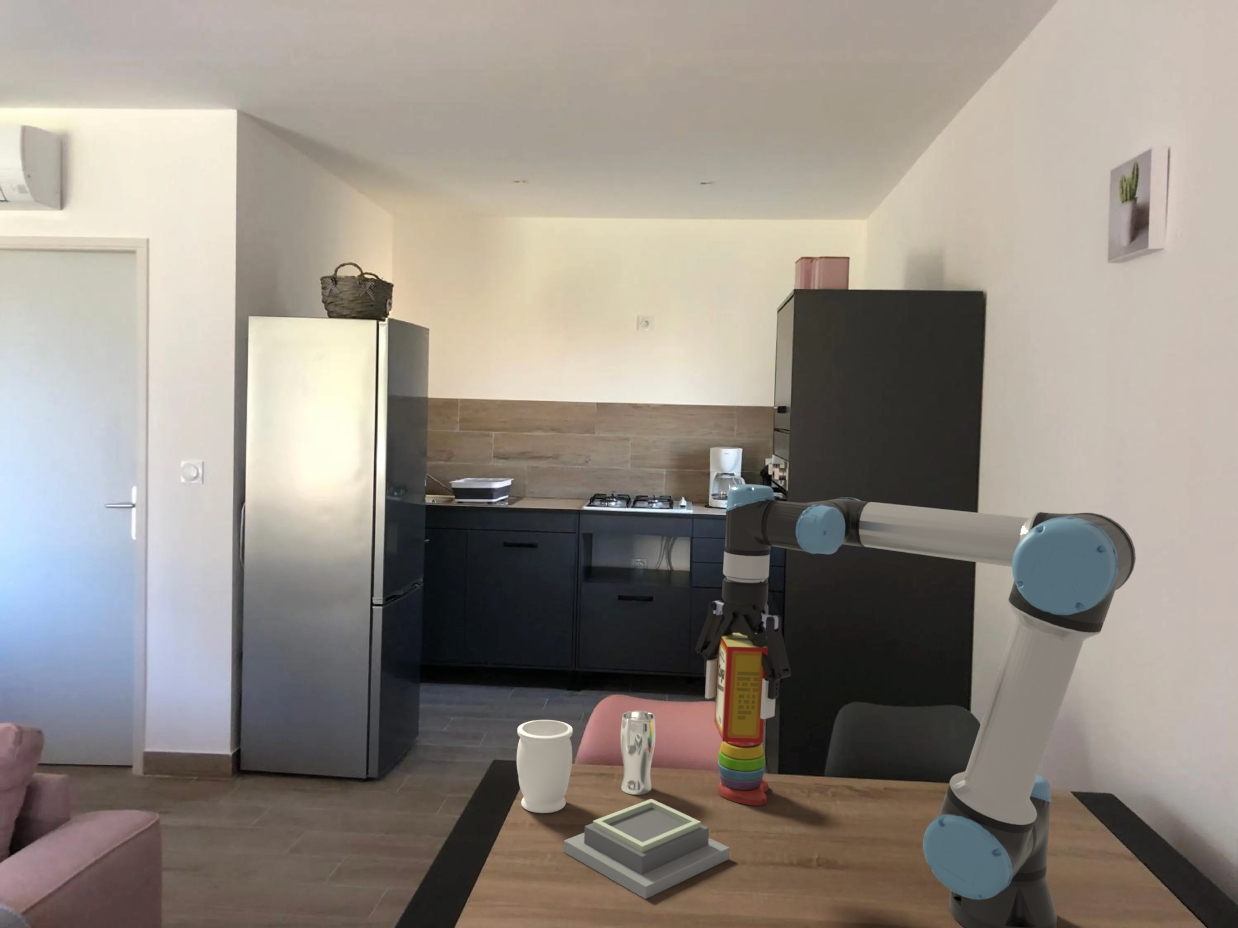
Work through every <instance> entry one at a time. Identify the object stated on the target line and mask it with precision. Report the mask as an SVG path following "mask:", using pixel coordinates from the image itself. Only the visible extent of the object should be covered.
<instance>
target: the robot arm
mask: <svg viewBox="0 0 1238 928" xmlns="http://www.w3.org/2000/svg"><path fill="white" fill-rule="evenodd" d="M724 541H725V542H724V543H725V544H724V549H723V550H724V551H723V567H722V568H723V569H722V574H723V575H724V576H725V577H723V579H722V585H721V586H722V590H721V598H722V600H723V601H722V600H721V599H720V600H714V601H710V602H708V605H707V616H706V619H705V621H704V624H703V627H702V630H701V632H700V635H699V637H698V640H697V642H696V645H695V649H694V650H695V652H696V653H697V654H700V655H701V656H702V657H703V658H702V659H704V661H703V662H704V663H703V675H704V676H703V677H705V689H704V690H705V692H704V693H705V694H704V698H705V699H707V700H710V699H713V698H716V681H717V661H718V649H719V645H720V641H721V636H722V637H723V636H725V635H731V634H733V633H740V634H742V635H744V636H747V637H748V639H749V641H751V642H752V644H753V645H754V646H757V647H760V648H761V647H764V646H767V648H768V656H766V655H765V654H764V653H763V652H762V659H761V665H762V667H763V669H764V672H765V674H766V678H763V679H762V695H761V713H760V718H761V719H764V720H767V719H770V718H773V717H775V710H776V699H778V698H779V696H780V683H781V679H784V678H788V677H791V676H792V670H791V666H790V662H789V659H788V658H789V657H788V654H787V649H786V645H785V641H784V636H783V633H782V616H781V615H779V614H776V615H770V614H767V611H766V607H765V606H766V605H767V602H768V600H769V599H768V595H769V582H768V580H767V578H769V576H770V558H771V548H772V547H773V548H774V547H775V548H782V549H788V550H794V551H798V552H799V551H801V552H806V553H809V554H811V555H817V554H822V555H832V554H834V553H836V552H837V551H838V549H839V548H840V547H841V546H842V545H845V546H846V545H847V546H854V547H855V546H856V547H862V548H863V547H864V548H874V549H879V550H886V551H887V550H888V551H892V552H893V551H895V552H903V553H908V554H916V555H923V556H930V557H937V558H946V559H951V560H952V559H953V560H960V561H965V562H966V561H967V562H973V563H974V562H975V563H980V564H988V565H994V566H1002V567H1010V568H1011V571H1012V578H1013V580H1014V581H1013V584H1012V587H1011V589H1010V590H1011V591H1010V594H1009V597H1008V600H1007V603H1008V606H1009V607H1010V609H1011V610H1012V612H1013V614H1014V616H1015V618H1014V622H1013V624H1012V627H1011V630H1010V634H1009V636H1008V640H1007V643H1006V645H1005V649H1004V652H1003V655H1002V658H1001V662H1000V665H999V666H998V667H999V668H998V670H997V674H996V677H995V679H994V683H993V685H992V689H991V693H990V695H989V698H988V702H987V705H986V707H985V710H984V713H983V717H982V719H981V723H980V726H979V729H978V732H977V735H976V738H975V742H974V745H973V748H972V750H971V753H970V757H969V760H968V763H967V766H966V769H965V771H961V772H958V773H956V774H954V775H953V776H951V778H950V780H949V783H948V785H947V790H946V792H945V795H944V799H943V801H942V804H941V808H940V811H939V813H938V815H937V816H935V817H934V818H933V819H932V820H931V821H930V822H929V824H928V825H927V827H926V830H925V832H924V835H923V840H922V850H923V855H924V858H925V861H926V863H927V864H928V866H929V867H930V869H931V872H932V874H933V875H934V876H935V878H936V879H937V880H938V881H939V882H940V883H941V884H942V885H943V886H945V887H946V888H947V889H948V890H950V892H949V902H948V903H949V905H948V907H949V909H948V910H949V912H950V914H951V917H953V918H954V920H956V921H957V922H958V924H960V925H961V926H962V927H964V928H1057V924H1058V923H1057V920H1058V919H1057V917H1058V915H1057V911H1056V907H1055V903H1054V900H1053V896H1052V893H1051V889H1050V886H1049V883H1048V879H1047V866H1048V865H1047V864H1048V851H1049V836H1050V835H1049V834H1050V817H1051V816H1050V814H1051V804H1052V802H1053V799H1052V798H1051V797H1052V796H1051V794H1052V791H1051V785H1050V783H1049V781H1048V780H1047V779H1046V778H1045V776H1042V775H1041V774H1039V772H1040V769H1041V766H1042V763H1043V761H1044V757H1045V754H1046V752H1047V748H1048V746H1049V743H1050V740H1051V736H1052V734H1053V732H1054V728H1055V725H1056V722H1057V719H1058V717H1059V713H1060V711H1061V708H1062V705H1063V702H1064V699H1065V696H1066V693H1067V690H1068V688H1069V684H1070V681H1071V678H1072V676H1073V672H1074V670H1075V667H1076V664H1077V661H1078V658H1079V655H1080V653H1081V649H1082V647H1083V643H1084V641H1086V639H1089V638H1091V637H1094V636H1097V635H1100V634H1101V632H1102V629H1103V626H1104V623H1105V621H1106V618H1107V614H1108V613H1109V609H1110V606H1111V603H1112V601H1113V598H1114V596H1115V592H1116V591H1117V590H1119V589H1121V588H1122V587H1123V586H1124V585H1125V584H1126V582H1128V580H1129V579H1130V577H1131V576H1132V573H1133V572H1134V570H1135V569H1134V568H1135V565H1136V560H1137V559H1136V549H1135V546H1134V542H1133V540H1132V537H1131V536H1130V535H1129V533H1128V531H1127V530H1126V529H1125V528H1124V527H1123V526H1122V525H1121V524H1119V522H1117V521H1116V520H1114V519H1112V518H1110V517H1109V516H1105V515H1103V514H1099V513H1094V512H1079V513H1078V512H1076V513H1075V512H1074V513H1057V512H1056V513H1055V512H1043V511H1037V512H1035V513H1034V514H1033V515H1031V516H1030V517H1025V516H1024V517H1022V516H1014V515H1013V516H1012V515H1004V514H996V513H995V514H993V513H984V512H983V513H982V512H974V511H973V512H972V511H964V510H963V511H962V510H954V509H944V508H943V509H942V508H936V507H935V508H934V507H926V506H925V507H924V506H914V505H905V504H904V505H903V504H894V503H884V502H876V501H875V502H873V501H870V502H869V501H865V500H863V501H862V500H860V499H858V498H855V497H843V496H842V497H838V498H834V499H827V500H819V501H818V500H817V501H809V502H796V501H794V502H793V501H783V500H778V499H775V496H774V489H773V488H772V487H771V486H769V485H764V484H763V485H762V484H752V483H751V484H749V483H744V484H743V483H741V484H740V483H738V484H734V485H731V486H730V487H729V489H728V491H727V500H726V509H725V540H724ZM722 617H724V620H723V621H722V623H721V620H722ZM720 623H721V624H720ZM718 628H719V629H718ZM755 633H757V634H755Z"/></svg>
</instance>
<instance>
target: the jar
mask: <svg viewBox="0 0 1238 928" xmlns="http://www.w3.org/2000/svg"><path fill="white" fill-rule="evenodd" d="M572 735H573V726H571V725H570V724H568V723H567V722H563V721H561V720H560V721H559V720H554V719H553V720H552V719H537V720H536V719H533V720H530V721H526V722H523V723H521V724H520V725H518V726H517V736H518V737H519V741H518V744H517V750H516V770H517V775H518V784H519V788H520V792H521V793H522V795H523V797H522V799H521V802H520V804H521V806H522V808H523V809H525V810H526V811H529V812H532V813H537V814H538V813H539V814H548V813H549V814H550V813H555V812H558V811H561V810H562V809H563V808H564V807H565V806H566V803H567V801H566V799H565V797H564V796H565V795H566V792H567V790H568V787H569V783H570V776H571V773H572V767H573V748H572V742H571V736H572Z"/></svg>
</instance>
